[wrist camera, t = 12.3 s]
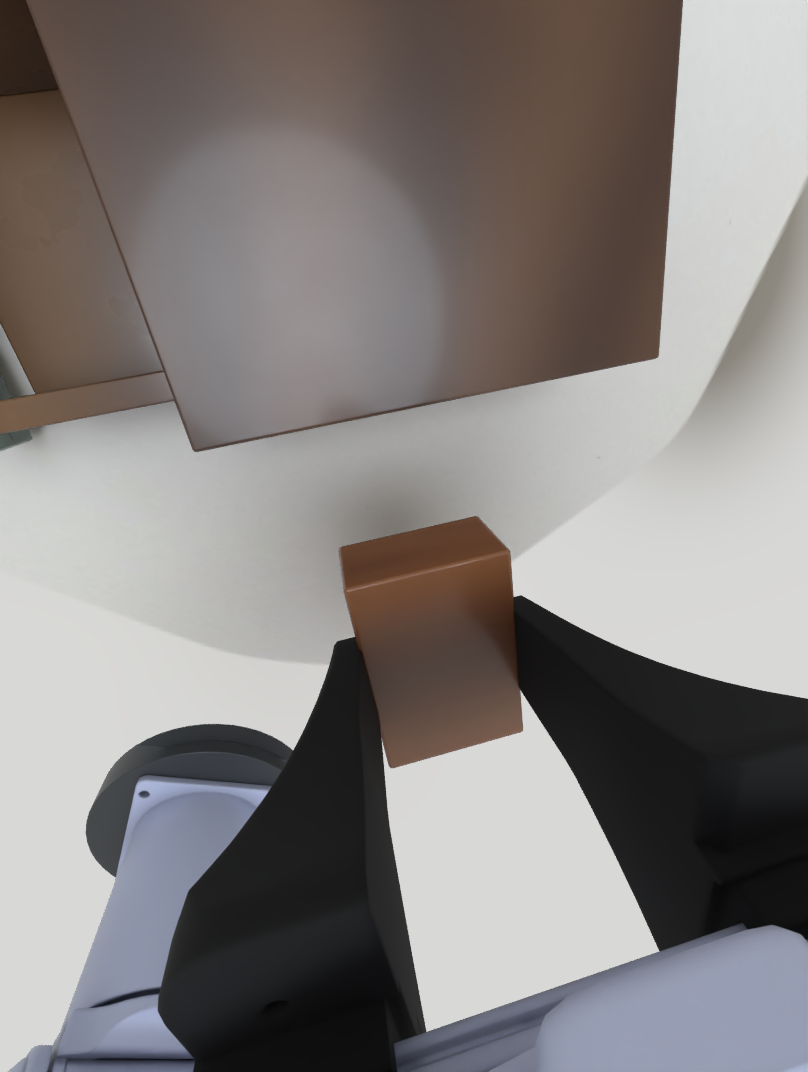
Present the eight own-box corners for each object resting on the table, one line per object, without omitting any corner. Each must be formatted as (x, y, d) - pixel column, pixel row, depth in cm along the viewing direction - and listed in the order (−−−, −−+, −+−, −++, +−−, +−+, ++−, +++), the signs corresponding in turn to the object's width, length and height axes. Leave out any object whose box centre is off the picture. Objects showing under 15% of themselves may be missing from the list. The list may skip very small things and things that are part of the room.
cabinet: (234, 414, 18) (192, 453, 12) (110, 26, 14) (-72, -259, 7) (547, 353, 20) (659, 358, 13) (535, -21, 15) (705, -296, 8)
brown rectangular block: (494, 676, 15) (524, 732, 13) (378, 707, 15) (390, 770, 13) (477, 513, 13) (511, 549, 10) (337, 545, 12) (342, 589, 10)
